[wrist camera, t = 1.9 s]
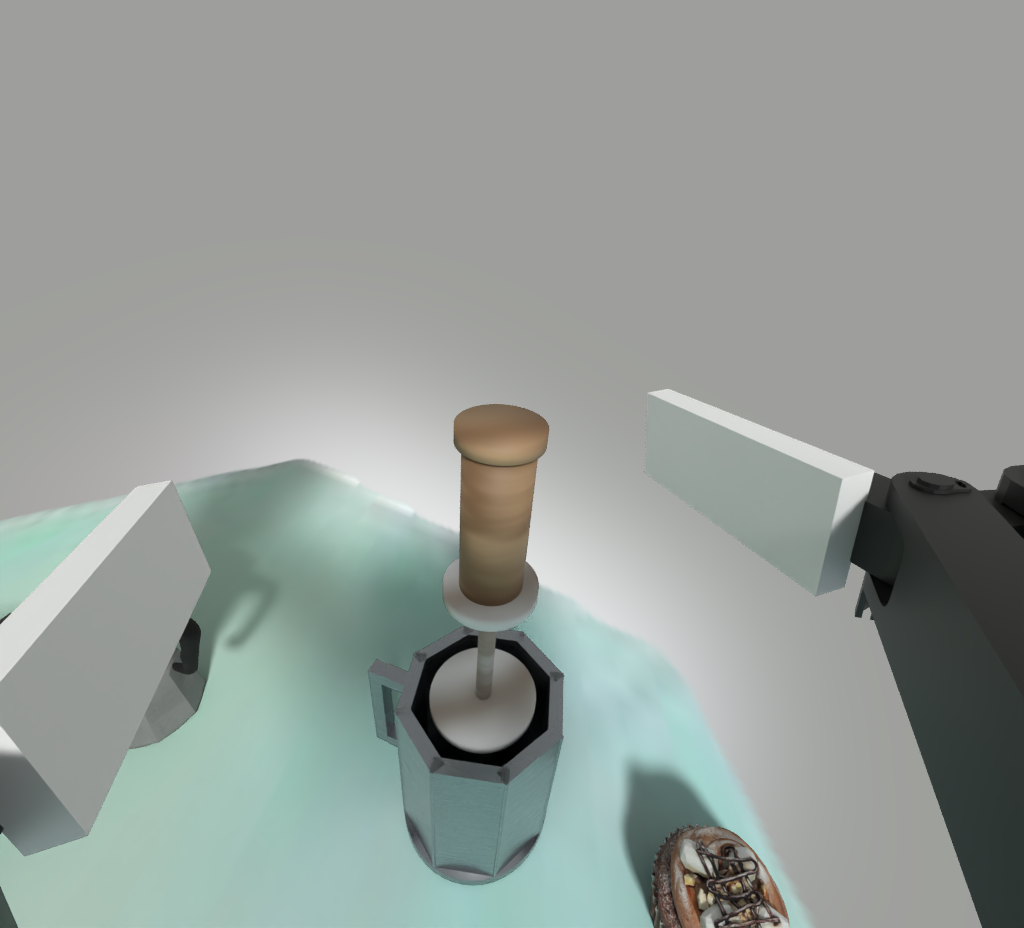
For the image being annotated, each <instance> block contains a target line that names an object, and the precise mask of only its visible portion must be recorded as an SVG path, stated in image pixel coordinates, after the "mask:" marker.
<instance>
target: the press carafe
mask: <svg viewBox="0 0 1024 928" xmlns="http://www.w3.org/2000/svg"><path fill="white" fill-rule="evenodd" d="M478 635H479V630H475V629H471V628H469V627H466V626H462V627H460V628H459V629H457V630H455V631H453V632H451V633H450V634H448V635H446V636H444V637H443V638H441V639H439V640H437V641H436V642H434V643H432V644H430V645H429V646H427V647H425V648H423V649H422V650H420V651H418V652H415V653H414V654H413V656H414V657H413V660H412V663H411V666H410V669H409V672H407V671H405V670H403V669H400V668H398V667H395V666H393V665H391V664H387V663H384V662H382V661H379V660H377V659H376V661H375V662H374V663H373V665H372V666H371V667H370V669H369V670H368V675H369V682H370V689H371V696H372V704H373V711H374V718H375V725H376V732H377V737H378V738H380V739H382V740H384V741H386V742H388V743H390V744H392V745H394V746H396V747H398V754H399V764H400V774H401V784H402V794H403V804H404V812H405V819H406V825H407V830H408V833H409V837H410V839H411V842H412V844H413V846H414V848H415V850H416V851H417V853H418V855H419V856H420V858H421V859H422V860H423V861H424V863H425V864H426V865H427V866H428V867H429V868H430V869H431V870H433V871H434V872H435V873H437V874H438V875H440V876H441V877H443V878H445V879H447V880H449V881H452V882H455V883H459V884H463V885H483V884H487V883H491V882H495V881H497V880H499V879H501V878H504V877H505V876H507V875H508V874H510V873H512V872H513V871H514V870H515V869H517V868H518V867H519V866H520V865H521V864H522V863H523V862H524V861H525V859H526V858H527V857H528V856H529V854H530V853H531V851H532V850H533V848H534V847H535V845H536V843H537V841H538V839H539V836H540V833H541V830H542V828H543V823H544V819H545V814H546V809H547V804H548V800H549V796H550V792H551V787H552V783H553V779H554V775H555V770H556V766H557V762H558V758H559V753H560V749H561V745H562V741H563V735H562V722H563V679H564V675H563V673H561V671H560V670H559V669H558V668H557V667H556V666H555V665H554V664H553V663H552V662H551V661H550V660H549V659H548V658H547V657H546V656H545V655H544V654H543V653H542V652H541V650H540V649H539V648H538V647H537V646H536V645H535V644H534V643H533V642H532V641H531V640H530V639H529V638H528V637H527V636H526V635H525V634H524V632H519V631H511V630H504V631H497V632H496V643H495V649H499V650H502V651H505V652H507V653H509V654H511V655H512V656H514V657H515V658H517V659H518V660H519V661H520V662H521V663H522V664H523V665H524V666H525V667H526V668H527V670H528V671H529V673H530V675H531V677H532V679H533V681H534V685H535V689H536V705H535V711H534V715H533V719H532V721H531V724H530V726H529V728H528V729H527V731H526V732H525V733H524V735H523V736H522V737H521V738H520V739H519V740H518V741H517V742H515V743H514V744H512V745H511V746H509V747H507V748H505V749H503V750H500V751H498V752H493V753H486V754H478V753H471V752H466V751H464V750H461V749H459V748H457V747H455V746H453V745H452V744H450V743H449V742H448V741H446V740H445V739H444V738H443V737H442V735H441V734H440V733H439V731H438V730H437V728H436V727H435V725H434V722H433V720H432V717H431V712H430V689H431V684H432V682H433V679H434V677H435V675H436V673H437V671H438V670H439V669H440V667H441V666H442V665H443V664H444V663H445V662H446V661H447V660H448V659H449V658H451V657H452V656H454V655H456V654H458V653H459V652H462V651H464V650H468V649H471V648H478ZM391 689H393V690H395V691H398V692H400V693H401V696H400V699H399V702H398V705H397V708H396V711H394V712H393V703H392V693H391ZM394 714H395V722H394Z"/></svg>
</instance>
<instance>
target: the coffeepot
mask: <svg viewBox="0 0 1024 928" xmlns="http://www.w3.org/2000/svg"><path fill="white" fill-rule="evenodd" d="M200 636H201V630H200V627H199V625H198V624H197V623H196V622H195V621H194V620H193V619H191V618H190V619H189V621H188V623H187V625H186V627H185V629H184V632H183V634H182V636H181V638H180V640H179V642H180V645H181V652H180V651H179V650H178V649H177V648H176V649H175V651H174V653H173V655H172V657H171V659H170V661H169V664H168V666H167V668H166V670H165V672H164V674H163V676H162V679H161V681H160V683H159V685H158V687H157V689H156V691H155V693H154V696H153V698H152V700H151V702H150V704H149V706H148V708H147V711H146V713H145V715H144V717H143V719H142V721H141V723H140V726H139V728H138V730H137V732H136V734H135V736H134V738H133V740H132V743H131V745H130V747H129V749H133V748H140V747H144V746H148V745H150V744H153V743H158V742H159V741H161V740H163V739H164V738H166V737H167V736H169V735H170V734H172V733H173V732H174V731H176V730H177V729H179V728H180V727H181V726H182V725H183V724H184V723H185V722H186V721H187V720H188V719H189V718H190V717H191V716H192V715H193V714H194V713H196V710H197V708H198V705H199V703H200V700H201V698H202V693H203V688H204V685H205V682H206V681H205V680H204V679H203V678H202V676H201V675H200V674H199V673H198V672H197V671H196V670H197V669H198V656H199V643H200Z"/></svg>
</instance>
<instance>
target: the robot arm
mask: <svg viewBox="0 0 1024 928" xmlns="http://www.w3.org/2000/svg"><path fill="white" fill-rule="evenodd" d="M646 413H647V415H646V442H645V471H644V472H645V473H646V474H647V475H648V476H650V477H651V478H652V479H654V480H655V481H657V482H658V483H659V484H661V485H662V486H663V487H665V488H666V489H668V490H669V491H670V492H672V493H673V494H674V495H676V496H677V497H679V498H680V499H681V500H683V501H684V502H686V503H687V504H688V505H690V506H691V507H693V508H694V509H695V510H697V511H698V512H699V513H701V514H702V515H704V516H705V517H706V518H708V519H709V520H710V521H712V522H713V523H715V524H716V525H717V526H719V527H720V528H722V529H723V530H725V531H726V532H727V533H728V534H730V535H731V536H733V537H734V538H735V539H737V540H738V541H740V542H741V543H742V544H744V545H745V546H747V547H748V548H749V549H751V550H752V551H753V552H755V553H756V554H758V555H759V556H760V557H762V558H763V559H765V560H766V561H767V562H769V563H770V564H772V565H773V566H774V567H776V568H777V569H778V570H780V571H781V572H783V573H784V574H785V575H787V576H788V577H790V578H791V579H792V580H794V581H795V582H796V583H798V584H799V585H801V586H802V587H803V588H805V589H806V590H808V591H809V592H810V593H812V594H813V595H815V596H819V595H822V594H824V593H827V592H831V591H834V590H837V589H840V588H843V587H845V583H846V579H847V575H848V571H849V568H850V564H851V562H852V563H853V564H855V565H857V566H858V567H860V568H862V569H864V570H865V571H866V573H865V576H864V580H863V584H862V588H861V591H860V594H859V598H858V602H857V605H856V609H855V617H860V618H861V617H862V613H863V610H865V609H867V608H868V607H870V610H871V613H872V614H871V618H870V619H871V620H874V621H875V624H876V627H877V630H878V633H879V635H880V638H881V641H882V644H883V647H884V650H885V653H886V655H887V658H888V661H889V664H890V667H891V670H892V672H893V675H894V678H895V681H896V684H897V687H898V690H899V692H900V695H901V698H902V701H903V703H904V707H905V709H906V712H907V715H908V718H909V721H910V723H911V726H912V729H913V732H914V735H915V738H916V740H917V744H918V746H919V749H920V752H921V755H922V758H923V760H924V763H925V766H926V769H927V772H928V775H929V777H930V780H931V783H932V786H933V789H934V792H935V794H936V798H937V800H938V803H939V806H940V809H941V812H942V815H943V817H944V820H945V823H946V826H947V829H948V832H949V834H950V837H951V840H952V843H953V846H954V849H955V851H956V854H957V857H958V860H959V863H960V866H961V869H962V871H963V874H964V877H965V880H966V883H967V885H968V888H969V891H970V894H971V897H972V900H973V903H974V905H975V908H976V911H977V914H978V917H979V920H980V923H981V925H982V928H1024V465H1019V466H1011V467H1009V468H1006V469H1004V471H1003V474H1002V476H1001V479H1000V482H999V484H998V487H997V489H996V490H984V491H978V490H977V489H976V488H974V487H973V486H971V485H970V484H968V483H967V482H965V481H962V480H958V479H956V478H952V477H948V476H945V475H941V474H936V473H927V472H905V473H900V474H897V475H895V476H894V477H892V479H889V478H887V477H884V476H882V475H880V474H877V473H875V472H874V470H871V469H869V468H866V467H864V466H861V465H859V464H856V463H854V462H851V461H849V460H846V459H844V458H841V457H839V456H836V455H834V454H831V453H829V452H826V451H824V450H821V449H819V448H816V447H814V446H811V445H809V444H806V443H804V442H801V441H799V440H796V439H794V438H791V437H788V436H786V435H783V434H781V433H778V432H776V431H773V430H771V429H768V428H766V427H763V426H761V425H758V424H756V423H753V422H751V421H748V420H746V419H743V418H741V417H738V416H736V415H733V414H731V413H728V412H726V411H723V410H721V409H718V408H716V407H713V406H710V405H708V404H705V403H703V402H700V401H698V400H695V399H693V398H690V397H688V396H685V395H683V394H680V393H677V392H675V391H673V390H670V389H665V390H661V391H654V392H649V393H647V411H646ZM211 572H212V571H211V569H210V567H209V564H208V562H207V560H206V557H205V555H204V553H203V551H202V548H201V546H200V544H199V541H198V539H197V537H196V534H195V532H194V530H193V527H192V525H191V523H190V520H189V518H188V516H187V514H186V511H185V509H184V507H183V504H182V502H181V500H180V497H179V495H178V493H177V490H176V488H175V486H174V484H173V481H172V480H170V481H164V482H159V483H153V484H148V485H143V486H137V487H135V488H134V489H133V490H132V492H131V493H130V494H129V495H128V496H127V497H126V498H125V499H124V500H123V501H122V502H121V503H120V504H119V505H118V506H117V507H116V508H115V509H114V510H113V511H112V512H111V513H110V514H109V515H108V516H107V517H106V518H105V519H104V520H103V521H102V522H101V523H100V524H99V525H98V526H97V527H96V528H95V529H94V530H93V531H92V532H91V533H90V534H89V535H88V536H87V537H86V538H85V539H84V540H83V541H82V542H81V543H80V544H79V545H78V546H77V547H76V548H75V549H74V550H73V551H72V552H71V553H70V554H69V555H68V556H67V557H66V558H65V559H64V560H63V561H62V563H61V564H60V565H59V566H58V567H57V568H56V569H55V570H54V571H53V572H52V573H51V574H50V575H49V576H48V577H47V578H46V579H45V580H44V581H43V582H42V583H41V584H40V585H39V586H38V587H37V588H36V589H35V590H34V591H33V592H32V593H31V594H30V595H29V596H28V597H27V598H26V599H25V600H24V601H23V602H22V603H21V604H20V605H19V606H18V607H17V608H16V609H15V610H14V611H13V612H12V613H9V614H8V615H7V616H5V617H4V618H2V619H1V620H0V834H1V833H2V832H3V833H4V835H5V836H6V837H7V838H8V839H9V840H10V841H11V842H12V843H13V844H14V845H15V847H16V848H17V849H18V850H19V851H20V852H21V853H22V854H23V855H24V856H28V855H31V854H34V853H37V852H40V851H43V850H46V849H49V848H52V847H55V846H58V845H61V844H64V843H67V842H70V841H73V840H76V839H79V838H82V837H85V836H88V834H89V832H90V830H91V828H92V826H93V824H94V822H95V819H96V817H97V815H98V813H99V811H100V809H101V807H102V805H103V802H104V800H105V798H106V796H107V794H108V792H109V790H110V787H111V785H112V783H113V781H114V779H115V777H116V775H117V772H118V770H119V768H120V766H121V764H122V762H123V760H124V758H125V755H126V753H127V751H128V749H129V747H130V745H131V743H132V740H133V738H134V736H135V734H136V732H137V730H138V728H139V726H140V723H141V721H142V719H143V717H144V715H145V713H146V711H147V708H148V706H149V704H150V702H151V700H152V698H153V696H154V693H155V691H156V689H157V687H158V685H159V683H160V681H161V679H162V676H163V674H164V672H165V670H166V668H167V666H168V664H169V661H170V659H171V657H172V655H173V653H174V651H175V649H176V647H177V644H178V642H179V640H180V638H181V636H182V634H183V632H184V629H185V627H186V625H187V623H188V621H189V619H190V617H191V614H192V612H193V610H194V608H195V606H196V604H197V602H198V600H199V597H200V595H201V593H202V591H203V589H204V587H205V585H206V582H207V580H208V578H209V576H210V574H211ZM0 928H18V926H17V924H16V922H15V919H14V917H13V915H12V912H11V910H10V908H9V906H8V903H7V901H6V899H5V896H4V894H3V892H2V889H1V887H0Z"/></svg>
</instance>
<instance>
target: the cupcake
mask: <svg viewBox="0 0 1024 928" xmlns="http://www.w3.org/2000/svg"><path fill="white" fill-rule="evenodd" d="M653 868H654V873H651V876H652V883H651V884H652V890H651V896H650V898H651V909H650V914H651V916H652V918H653V920H654V927H655V928H790V925H789V918H788V914H787V911H786V907H785V904H784V901H783V899H782V897H781V895H780V892H779V890H778V888H777V886H776V884H775V882H774V881H773V879H772V877H771V875H770V874H769V872H768V870H767V868H766V866H765V865H764V864H763V862H762V861H761V860H760V858H759V857H758V856H757V854H756V853H755V852H754V850H753V849H752V848H751V847H750V846H749V845H748V844H747V843H746V842H745V841H744V840H742V839H741V838H740V837H739V836H738V835H737V834H735V833H733V832H731V831H729V830H727V829H724V828H721V827H707V826H706V825H704V827H700V826H699V825H698V824H695V827H692V825H691V824H687V828H686V827H684V826H681V830H680V829H679V828H676V832H675V834H674V833H670V832H669V837H664V844H663V845H661V844H659V853H655V861H653Z"/></svg>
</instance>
